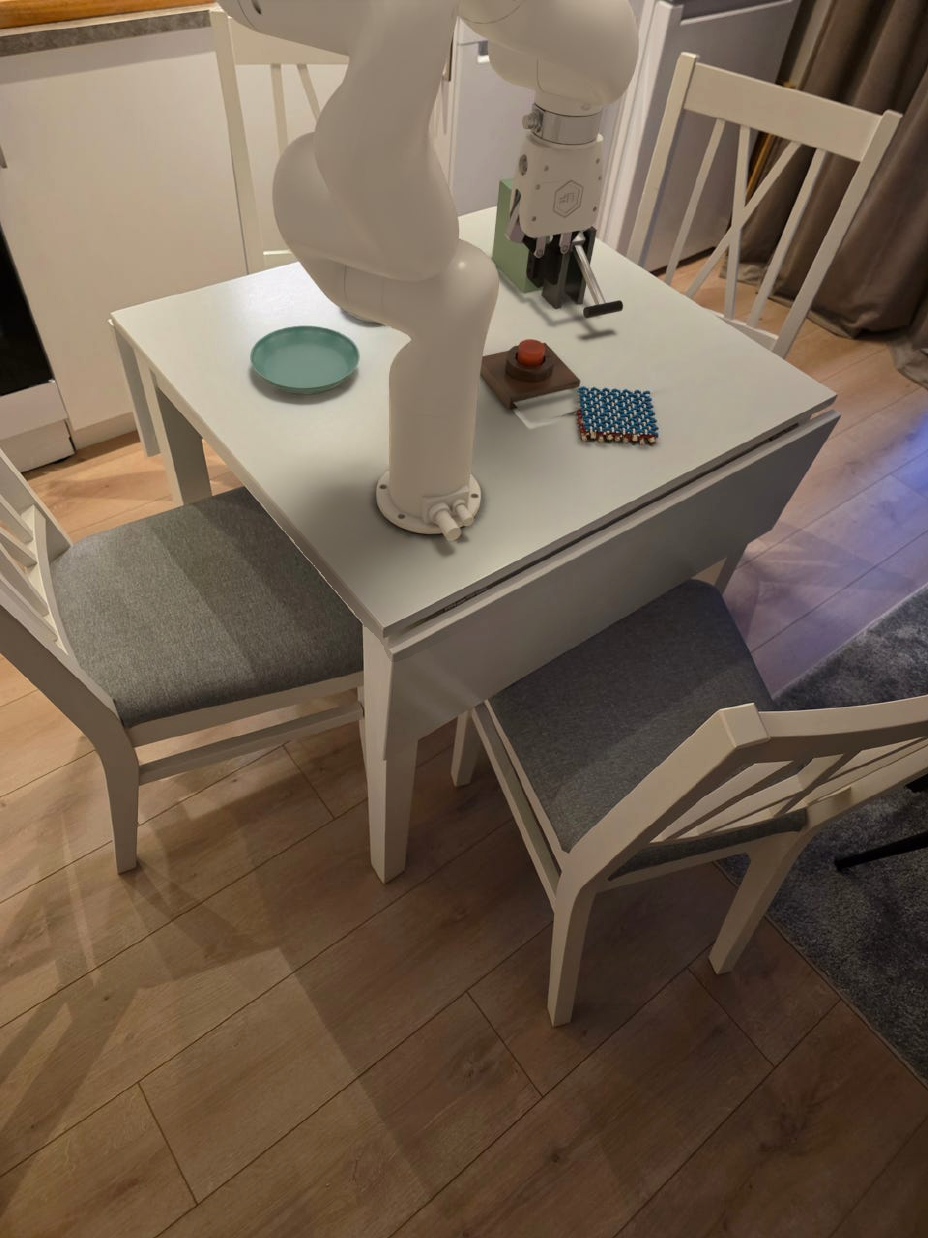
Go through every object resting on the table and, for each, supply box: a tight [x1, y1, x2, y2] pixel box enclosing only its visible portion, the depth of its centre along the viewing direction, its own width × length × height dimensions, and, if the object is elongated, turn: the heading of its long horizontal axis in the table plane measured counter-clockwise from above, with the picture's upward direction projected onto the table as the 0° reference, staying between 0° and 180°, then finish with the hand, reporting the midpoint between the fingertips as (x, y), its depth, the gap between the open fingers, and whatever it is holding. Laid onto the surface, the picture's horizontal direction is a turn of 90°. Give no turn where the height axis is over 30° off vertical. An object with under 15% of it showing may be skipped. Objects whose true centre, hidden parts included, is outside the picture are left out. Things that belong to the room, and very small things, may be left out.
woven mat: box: [576, 385, 659, 446], centre depth 111 cm, size 10×11×2 cm
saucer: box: [249, 325, 361, 395], centre depth 113 cm, size 15×15×3 cm
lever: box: [570, 232, 624, 319], centre depth 120 cm, size 14×6×2 cm, turn 27°
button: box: [517, 338, 545, 366], centre depth 112 cm, size 4×4×2 cm
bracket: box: [541, 225, 598, 310], centre depth 125 cm, size 8×8×13 cm
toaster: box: [491, 177, 550, 294], centre depth 129 cm, size 11×10×14 cm
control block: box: [480, 342, 581, 411], centre depth 114 cm, size 10×11×4 cm
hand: (541, 280), depth 104 cm, fingers closed
